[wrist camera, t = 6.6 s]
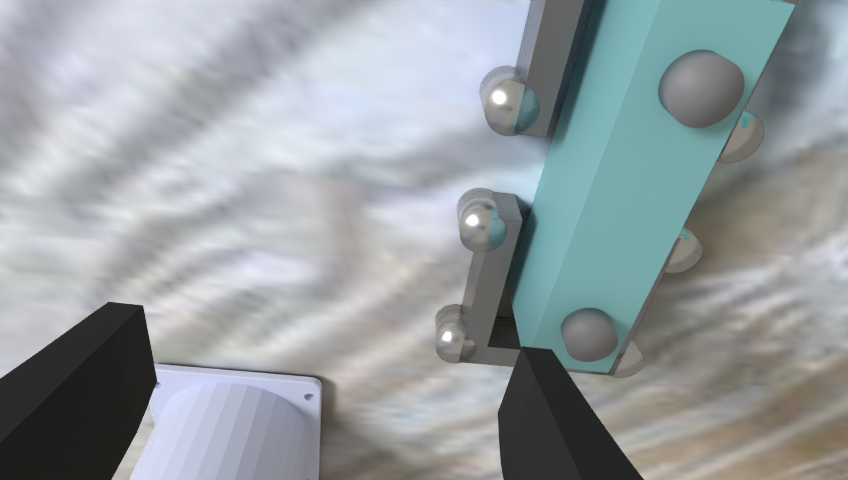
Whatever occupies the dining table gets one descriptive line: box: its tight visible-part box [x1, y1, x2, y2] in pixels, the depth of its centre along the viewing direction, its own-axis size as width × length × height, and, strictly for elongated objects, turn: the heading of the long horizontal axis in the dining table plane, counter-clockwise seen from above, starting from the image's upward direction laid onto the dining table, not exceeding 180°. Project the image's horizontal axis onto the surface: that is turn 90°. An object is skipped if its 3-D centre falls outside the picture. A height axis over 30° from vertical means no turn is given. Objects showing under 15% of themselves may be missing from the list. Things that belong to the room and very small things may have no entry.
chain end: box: [436, 188, 702, 378], centre depth 20 cm, size 7×9×2 cm
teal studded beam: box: [508, 0, 795, 373], centre depth 16 cm, size 12×3×5 cm, turn 172°
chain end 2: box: [480, 0, 798, 163], centre depth 15 cm, size 7×9×2 cm
